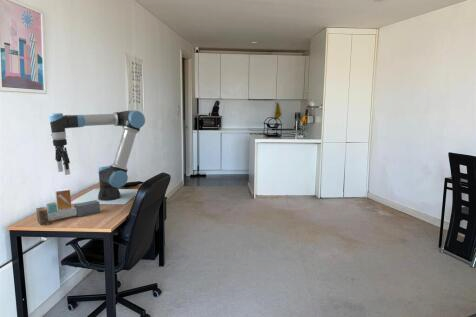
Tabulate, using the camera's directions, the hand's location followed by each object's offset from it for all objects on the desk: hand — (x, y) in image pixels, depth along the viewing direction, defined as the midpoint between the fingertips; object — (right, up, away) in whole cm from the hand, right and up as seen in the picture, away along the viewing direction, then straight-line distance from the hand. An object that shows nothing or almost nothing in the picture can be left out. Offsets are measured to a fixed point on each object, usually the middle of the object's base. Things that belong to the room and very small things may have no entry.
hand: (64, 173), depth 215 cm
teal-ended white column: (+4, -25, -11) cm, 28 cm away
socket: (-4, -28, -17) cm, 32 cm away
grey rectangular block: (+15, -25, -1) cm, 29 cm away
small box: (-4, -24, +9) cm, 26 cm away
